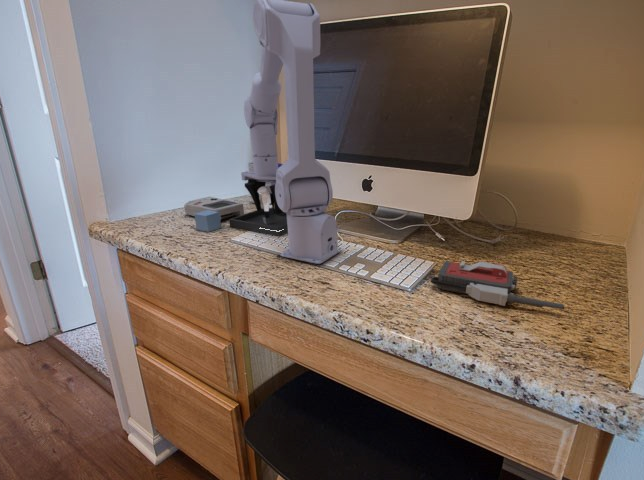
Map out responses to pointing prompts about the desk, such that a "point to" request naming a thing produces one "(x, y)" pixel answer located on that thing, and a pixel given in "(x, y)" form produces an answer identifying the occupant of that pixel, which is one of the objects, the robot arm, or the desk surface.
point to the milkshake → (267, 205)
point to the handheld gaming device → (214, 207)
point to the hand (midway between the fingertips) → (270, 211)
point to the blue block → (207, 220)
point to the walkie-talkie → (484, 283)
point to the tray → (260, 223)
